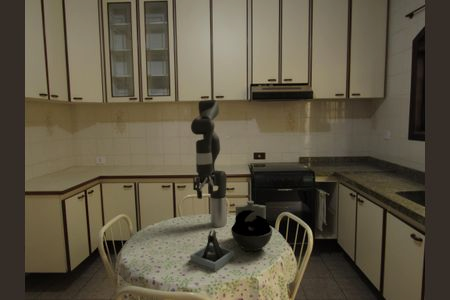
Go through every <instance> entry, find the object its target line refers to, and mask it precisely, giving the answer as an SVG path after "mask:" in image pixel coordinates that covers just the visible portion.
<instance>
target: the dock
mask: <svg viewBox="0 0 450 300" xmlns="http://www.w3.org/2000/svg"><path fill="white" fill-rule="evenodd" d="M206 246H207V245H205V246H204V247H202V248H200V249H198V250H196V251H195V252H193V253H191V254H190V256H189V257H190V259H189V260H188V263H190V264H192V265H195V266H197V267H201V268H202V269H205V270H209V271H211V272H213V273H217V272H219V270H221V269H222V268H224V267H226V266H227V265H228V264H229V263H230V262H231V261H233V260H235V259H236V255H235V251H234V250H231V249H228V248H226V247H221V246H220V249H221V251H222V254H223V256H222V258H220V259H219V260H217V261H216V262H213V261H210V260H207V259H204V258H202V257H203V254H204V251H205V248H206ZM208 254H215V250H214V247H213V244H212V243H210V246H209V250H208Z"/></svg>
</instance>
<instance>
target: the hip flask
mask: <svg viewBox="0 0 450 300" xmlns="http://www.w3.org/2000/svg"><path fill="white" fill-rule="evenodd" d="M254 203H255V202H254V201H253V200H246V204H240V205H237V204H236V205H235V217H236V216H237V215H238V213H241V212H242V211H245V210H251V211H254V212H252V213H251V214H249V215H248V216H247V218H246V219H245V222H247V221H250V222H252V221H253V220H254V219H256V216H260V217H262V218H265V219H266V217H267V216H266V211H267V209H266V205H261V204H254ZM266 220H267V219H266Z"/></svg>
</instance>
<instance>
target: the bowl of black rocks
mask: <svg viewBox="0 0 450 300" xmlns="http://www.w3.org/2000/svg"><path fill="white" fill-rule="evenodd" d="M252 212H254V211H251V210H245V211H242V212H241V213H238V215H237V216H236V215H235V219H234V220H235V221H234V224H233V225H232V227H231V228H230V231H231V235H232V237H233V240H234V242H235V243H236V244H237V245H238V246H239V247H241V248H242V249H244V250H247V251H259V250H261V249H263V248H264V247H265V246H267V245H268V244H269V242H270V240H271V239H272V235H273V228H272V226H271V225H270V223H269V222H268V220H267V219H265V218H262V217H260V216H256V219H254V220H253V221H252V222H250V221H247V222H245V219H246V218H247V216H248V215H249V214H251V213H252Z"/></svg>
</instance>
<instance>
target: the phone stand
mask: <svg viewBox="0 0 450 300" xmlns="http://www.w3.org/2000/svg"><path fill="white" fill-rule="evenodd" d="M210 244H212V245H213V247H214V250H215V254H208V250H209V246H210ZM205 246H206V248H205V251H204V254H203V257H202V258H204V259H207V260H210V261H213V262H216V261H217V260H219V259H220V258H222V256H223V254H222V251H221V249H220V247H221V246H220V243H219V241H218V238H217V231H216V230H215V229H213V230H212V229H210V230H209V233H208V235H207V243H206V245H205Z"/></svg>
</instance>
